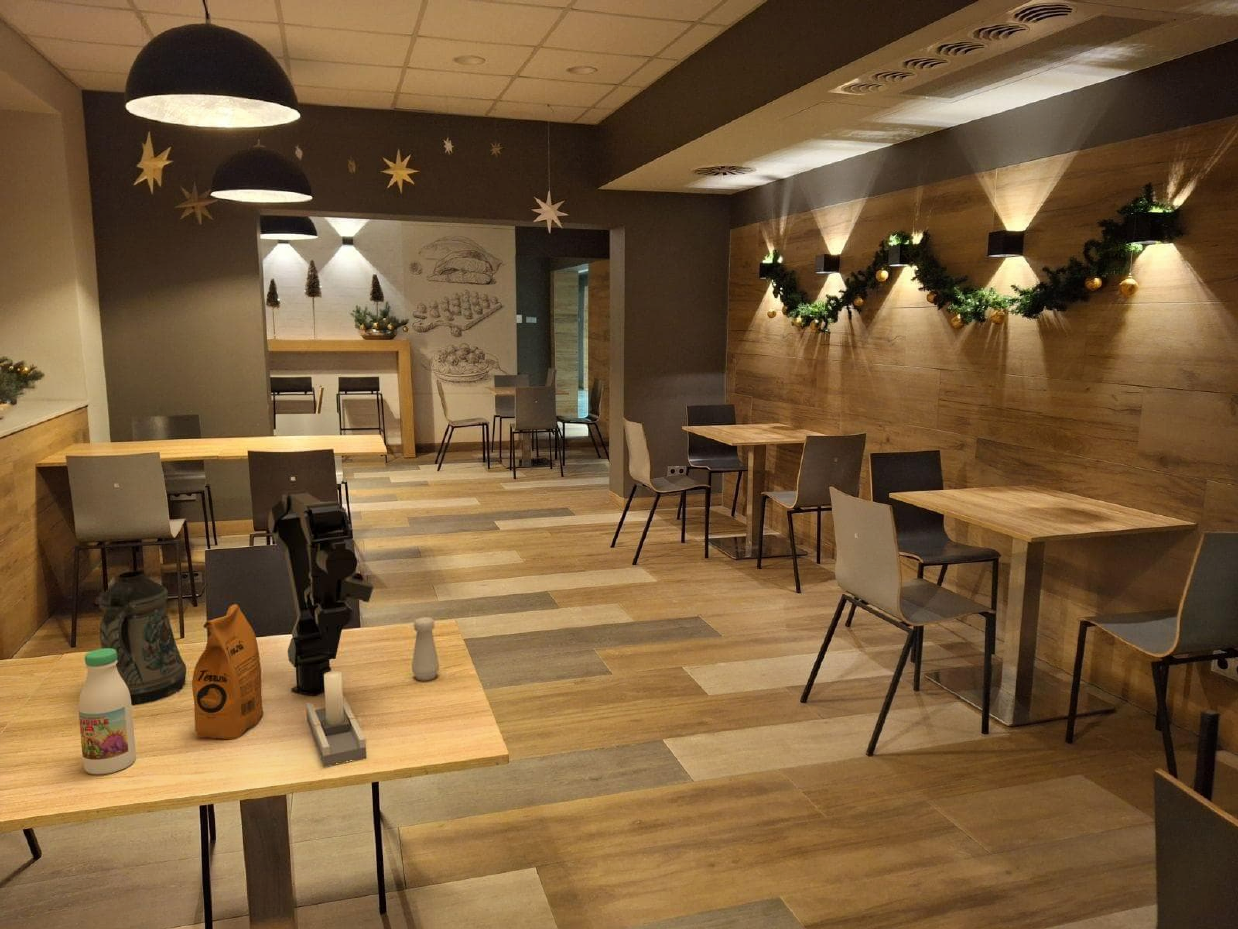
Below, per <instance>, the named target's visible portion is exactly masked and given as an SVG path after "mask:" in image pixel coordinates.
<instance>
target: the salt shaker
mask: <svg viewBox="0 0 1238 929" xmlns="http://www.w3.org/2000/svg"><path fill="white" fill-rule="evenodd" d="M413 628H414V631H415V632H416V636H415V641H414V648H413V649H414V650H413V655H412V662H411V671H412V672H413V674H414V676H415V678H416V679H417V681H422V682H426V681H430V680H434V679H435V678H436V676H437V673H438V671H439V668H440V663H439V658H438V653H437V648H436V644H435V638H434V635H433V631H434V629H435V619H433V618H431V617H428V616H427V617H425V616H424V617H419V618H416V619H415V620H414V622H413Z"/></svg>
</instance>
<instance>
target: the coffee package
mask: <svg viewBox="0 0 1238 929" xmlns="http://www.w3.org/2000/svg"><path fill="white" fill-rule="evenodd" d="M203 628H204V629H209V632H210V635H209V636H208V638H207V640H206V641H207V642H206V644H205V649H204V651H202V653H201V654H200V656H199V658H198V660H197V662H196V664H195V666H194V669H193V673H192V680H191V687H192V697H193V707H194V712H193V713H194V732H195V733H196V734H197V735H198V737H199V738H201V739H205V738H210V739H221V740H228V739H231V740H233V739H238V738H241V736H242V735H243V733H245V731H246V729H248V728H251V727H254V726H255V725H257V723H258V722H259V719H260V717H262V715H263V714H264V710H263V708H264V707H263V697H262V696H263V695H262V692H263V691H262V687H263V686H262V666H261V659H260V651H259V645H258V641H257V636H256V633H255V632H254V629H253V627H252V626H251V625H250V623H249V622H248V620H247V618H246V617H245V615H244V613H243V612H242V610H241V609H240V607H239V605H238V604H232V605H230V606H228V609H227V612H226V615H224V616H222V617H221V616H220V617H217V618H214V619H211V620H207V621H205V623H204V624H203Z"/></svg>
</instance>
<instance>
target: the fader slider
mask: <svg viewBox="0 0 1238 929" xmlns="http://www.w3.org/2000/svg"><path fill="white" fill-rule="evenodd" d="M324 687H325V691H324V701H325V702H324V703H325V705H324V706H325V707H324V708H326V719H323V720H321V727H322V729H323V732H324V734H325V736H327V735H332V734H337V733H342V732H347V731H350V723H349V721H348V719H347V717H346V715H343V697H344V696H343V678H342V671H338V670H331V671H330V672H327V673H325V674H324Z"/></svg>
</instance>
